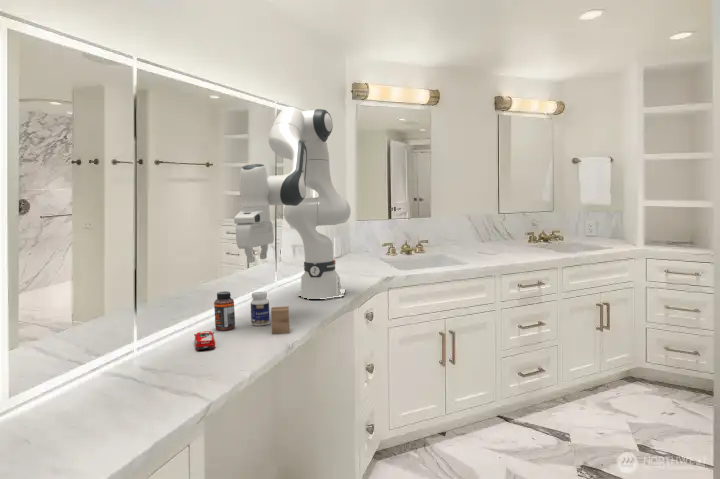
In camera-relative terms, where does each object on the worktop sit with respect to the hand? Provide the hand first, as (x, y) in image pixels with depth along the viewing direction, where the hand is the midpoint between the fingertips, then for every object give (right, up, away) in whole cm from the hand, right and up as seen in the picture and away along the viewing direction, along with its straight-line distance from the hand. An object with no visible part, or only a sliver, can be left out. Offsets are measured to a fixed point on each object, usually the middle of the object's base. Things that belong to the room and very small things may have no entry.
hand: (257, 260), depth 168 cm
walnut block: (+9, -21, -8) cm, 24 cm away
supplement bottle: (-9, -21, -3) cm, 23 cm away
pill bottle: (+1, -20, +2) cm, 20 cm away
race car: (-11, -23, -20) cm, 32 cm away
